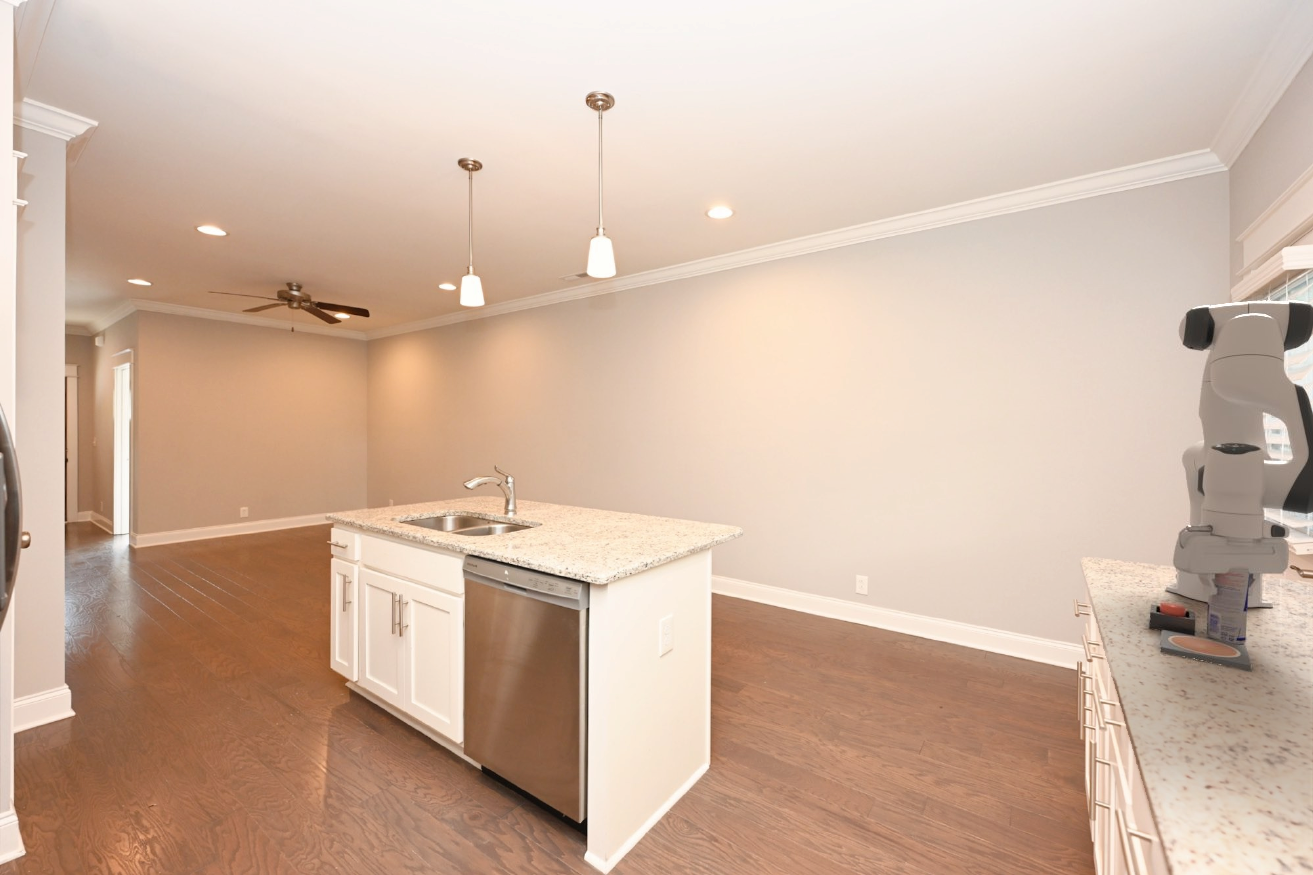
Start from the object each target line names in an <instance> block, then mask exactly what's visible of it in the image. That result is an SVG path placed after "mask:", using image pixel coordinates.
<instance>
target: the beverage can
mask: <svg viewBox="0 0 1313 875" xmlns="http://www.w3.org/2000/svg"><path fill="white" fill-rule="evenodd" d="M1248 571H1249V569H1229V572H1227V573H1226V574H1215V578H1214V579H1212V581H1213V583H1214V585H1215V586H1216V587H1219V591H1218V592H1219V595H1215V596H1210V595H1208V602H1207V612H1206V613H1207V615H1206V629H1205V631H1206V632H1205V633H1206V635H1207V637H1208V638H1209V639H1213V640H1218V641H1223V642H1229V643H1234V644H1239V645H1243V644H1245V643H1246V642H1247V640H1246V639H1247V625H1248V624H1247V623H1248V608H1249V607H1248V589H1249V572H1248Z"/></svg>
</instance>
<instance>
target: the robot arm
mask: <svg viewBox="0 0 1313 875" xmlns="http://www.w3.org/2000/svg"><path fill="white" fill-rule="evenodd" d="M1178 335H1179V339H1180V341H1181V342H1182V346H1184V347H1185V348H1187V349H1189V350H1193V351H1199V352H1203V351H1205V350H1206V351H1209V352H1208V354H1207V355H1208V356H1207V358H1206V362H1205V365H1204V368H1203V369H1204V370H1203V374H1202V380H1201V388H1200V396H1199V397H1200V398H1199V407H1198V416H1199V418H1200V420H1201V426H1202V434H1203V439H1202V440H1199V441H1197V442H1195V443H1193V444H1191V445H1189V446H1188V447H1187V448H1186V449H1185V450H1184V451H1183V454H1182V457H1181V461H1182V464H1183V465H1182V466H1183V467H1184V471H1185V480H1186V487H1187V492H1188V497H1189V506H1190V509H1189V510H1190V516H1189V525H1187V526H1185V528H1183V529H1180V531H1179V532H1178V538H1177V540H1176V541H1175V542H1176V543H1175V547H1174V550H1173V551H1174V552H1173V559H1172V565H1173V566H1174V568H1175V572H1176V574H1175V580H1174V581H1173V582H1171V583H1169V584H1168V585H1166V587H1165V590H1166V591H1167V592H1170V593H1175V594H1177V595H1181V596H1182V597H1183V596H1184V597H1186V598H1190V599H1194V600H1195V601H1201V602H1205V603H1208V595H1210V596H1215V595H1219V592H1218V591H1219V587H1216V586H1215V585H1214V583H1213V581H1212V579H1214V578H1215V574H1226V573H1227V572H1229V569H1249V571H1248V572H1249V589H1248V607H1247V608H1258V607H1259V608H1273V607H1274V605H1273V604H1274V603H1273V602H1272V601H1271V600H1269V599H1268V598H1266V597H1265V596H1263V575H1264V574H1265V575H1266V574H1267V575H1270V574H1271V575H1274V574H1275V575H1279V574H1280V575H1281V574H1284V573H1285V572H1286V570H1287V569H1288V566H1289V556H1290V554H1289V552H1290V547H1289V543H1288V541H1287V540H1286V539H1287V538H1289V536H1290V528H1289V527H1288V526H1285V525H1282V524H1279V523H1276V522H1273V521H1270V520H1267V519H1265V510H1264V509H1271V510H1272V509H1274V510H1281V511H1284V512H1290V513H1291V512H1292V513H1297V514H1304V515H1307V514H1311V513H1313V408H1312V404H1311V401H1310V398H1309V395H1308V393H1307V391H1306V390H1305V387H1304V386H1302V385H1300V384H1297V383H1294V382H1292V380H1290V378H1289V377H1288V376H1287V374H1286V371H1285V352H1286V351H1290V350H1294V349H1297V348H1299V347H1301V346H1303V345H1305V344H1306V343H1307V342H1309V340H1310V338H1311V337H1312V336H1313V305H1311V303H1309V302H1306V301H1301V300H1299V301H1298V300H1288V301H1273V300H1272V301H1271V300H1267V301H1266V300H1262V301H1260V300H1257V301H1256V300H1254V301H1253V300H1252V301H1245V302H1234V303H1224V304H1216V305H1211V306H1210V305H1208V304H1207V305H1206V304H1205V305H1202V306H1196V307H1193V308H1191V309H1189V310H1188V311H1187V312H1186V313H1185V315H1184V317H1183V318H1182V319H1181V321H1180V323H1179V327H1178ZM1264 414H1268V415H1269V416H1270V415H1271V416H1273V417H1275V418H1277V419H1278V420H1280V421H1281V422H1282V423H1283V424H1284V425H1285V427H1286V431H1287V435H1288V440H1289V446H1290V450H1291V453H1292V454H1291V455H1292V459H1290V460H1286V461H1283V460H1281V461H1280V460H1273V459H1272V457H1271V455H1270V454H1269V452H1268V451H1269V450H1268V448H1267V447H1268V446H1267V439H1266V434H1265V427H1264Z"/></svg>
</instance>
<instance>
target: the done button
mask: <svg viewBox="0 0 1313 875" xmlns="http://www.w3.org/2000/svg"><path fill="white" fill-rule="evenodd" d="M1159 606H1160V613H1164V614H1169V615H1175V616H1181V617H1185V615H1186V610H1187V607H1185V606H1184V605H1180V604H1177V603H1171V602H1160V605H1159Z"/></svg>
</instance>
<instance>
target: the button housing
mask: <svg viewBox="0 0 1313 875" xmlns="http://www.w3.org/2000/svg"><path fill="white" fill-rule="evenodd" d="M1196 621H1197V618H1196V611H1193V610H1187V609H1186V615H1185V617H1181V616H1175V615H1169V614H1164V613H1160V605H1157V604H1153V603H1152V604H1151V605H1150V611H1149V629H1151V630H1154V629H1157V630H1156V631H1159V630H1160V631H1159V632H1162V630H1167V631H1172V632H1177V633H1182V634H1187V635H1193V636H1196V624H1197V623H1196Z"/></svg>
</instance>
